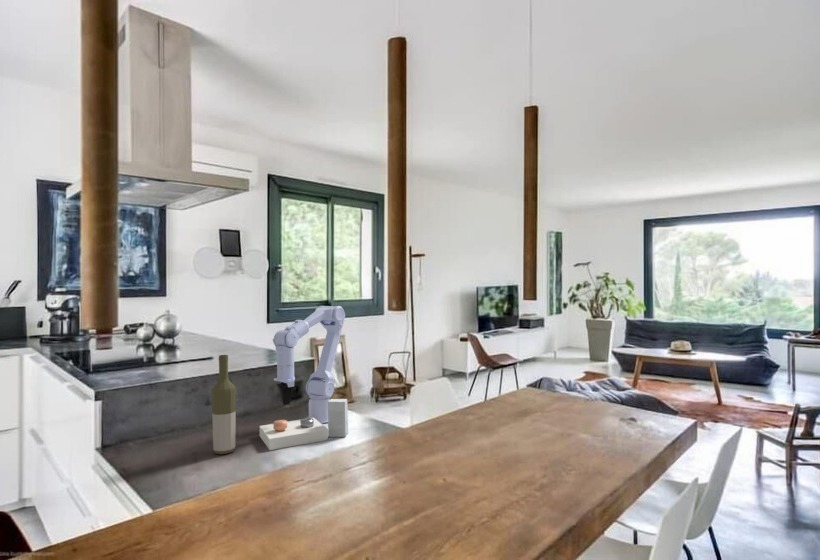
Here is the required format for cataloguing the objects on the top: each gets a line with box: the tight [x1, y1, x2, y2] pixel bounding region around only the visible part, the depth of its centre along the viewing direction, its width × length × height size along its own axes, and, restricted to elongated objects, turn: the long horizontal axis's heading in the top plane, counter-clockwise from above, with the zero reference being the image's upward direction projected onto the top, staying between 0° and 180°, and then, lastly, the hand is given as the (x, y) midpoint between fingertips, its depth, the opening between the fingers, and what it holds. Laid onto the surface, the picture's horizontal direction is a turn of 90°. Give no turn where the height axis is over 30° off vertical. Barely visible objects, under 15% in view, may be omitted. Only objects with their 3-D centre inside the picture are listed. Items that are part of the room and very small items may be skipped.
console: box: [259, 417, 329, 451], centre depth 156 cm, size 16×19×4 cm
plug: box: [299, 417, 314, 428], centre depth 157 cm, size 4×4×5 cm
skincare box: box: [327, 398, 349, 438], centre depth 158 cm, size 6×4×12 cm
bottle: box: [211, 354, 237, 455], centre depth 144 cm, size 7×7×30 cm
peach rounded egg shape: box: [272, 419, 288, 432], centre depth 153 cm, size 4×4×5 cm
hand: (286, 404), depth 160 cm, fingers closed
